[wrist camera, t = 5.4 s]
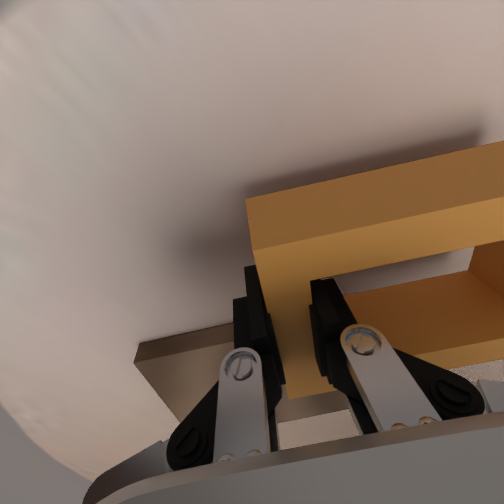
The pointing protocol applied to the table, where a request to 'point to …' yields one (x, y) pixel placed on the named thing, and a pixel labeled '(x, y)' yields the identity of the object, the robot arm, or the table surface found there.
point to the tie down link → (389, 258)
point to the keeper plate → (211, 374)
